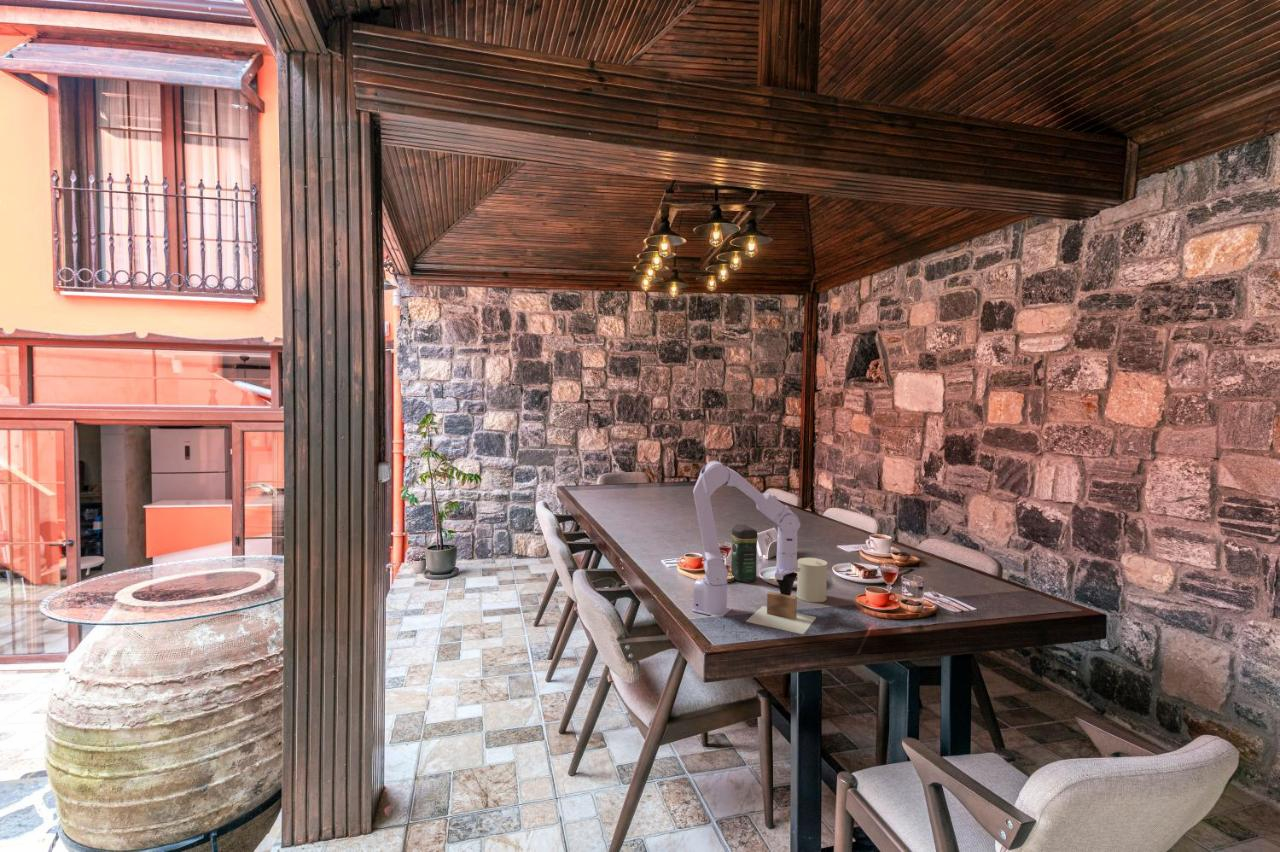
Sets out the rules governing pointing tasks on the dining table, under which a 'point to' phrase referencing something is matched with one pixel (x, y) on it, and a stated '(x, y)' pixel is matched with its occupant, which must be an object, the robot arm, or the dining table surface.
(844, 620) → the dining table surface
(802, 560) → the can
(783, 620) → the mat
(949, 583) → the dining table surface
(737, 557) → the coffee jar
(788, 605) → the walnut slab
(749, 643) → the dining table surface
